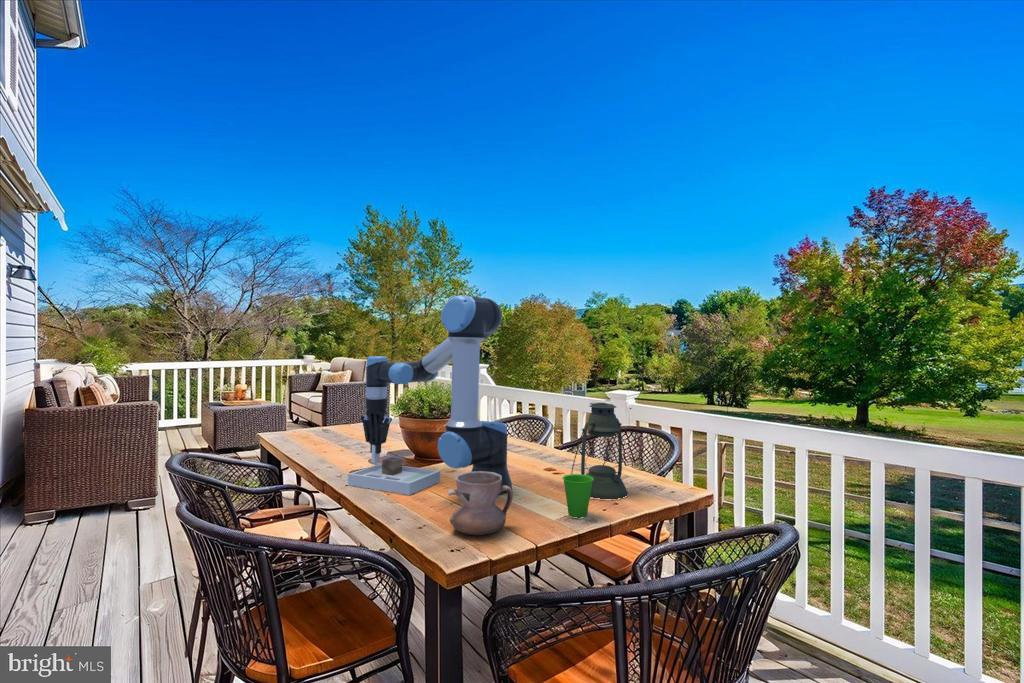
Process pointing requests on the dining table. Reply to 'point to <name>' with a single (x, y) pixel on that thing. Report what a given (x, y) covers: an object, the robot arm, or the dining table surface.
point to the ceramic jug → (479, 503)
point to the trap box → (394, 479)
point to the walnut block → (392, 466)
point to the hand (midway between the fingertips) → (375, 462)
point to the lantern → (604, 476)
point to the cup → (578, 493)
